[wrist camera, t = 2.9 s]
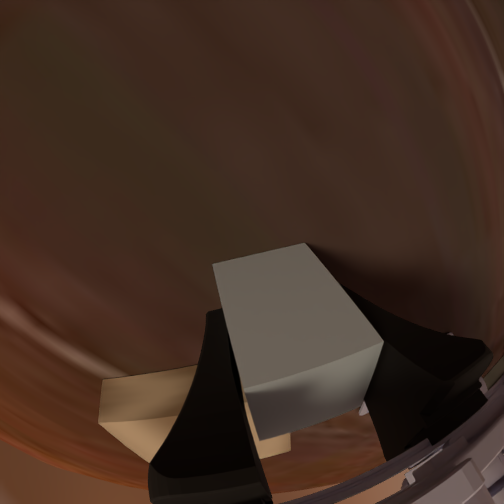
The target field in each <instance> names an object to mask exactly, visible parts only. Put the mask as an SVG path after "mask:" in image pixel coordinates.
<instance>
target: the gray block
mask: <svg viewBox="0 0 504 504" xmlns="http://www.w3.org/2000/svg"><path fill="white" fill-rule="evenodd" d="M212 265H213V269H214V274H215V278H216V283H217V287H218V291H219V295H220V300H221V304H222V308H223V312H224V316H225V320H226V324H227V328H228V332H229V336H230V340H231V344H232V348H233V352H234V356H235V359H236V363H237V367H238V371H239V374H240V378H241V382H242V385H243V389H244V392H245V396H246V399H247V403H248V406H249V409H250V412H251V416H252V419H253V422H254V425H255V429H256V432H257V435H258V438H259V441H262V440H266V439H270V438H273V437H277V436H280V435H284V434H287V433H290V432H294V431H297V430H300V429H303V428H306V427H309V426H312V425H315V424H318V423H320V422H323V421H326V420H328V419H331V418H334V417H336V416H339V415H341V414H344V413H346V412H349V411H351V410H353V409H356V408H358V407H360V406H361V404H362V401H363V399H364V396H365V394H366V391H367V389H368V386H369V384H370V381H371V378H372V375H373V373H374V370H375V367H376V364H377V361H378V358H379V355H380V352H381V349H382V346H383V343H384V341H383V339H382V338H381V337H380V335H379V334H378V333H377V332H376V330H375V329H374V328H373V326H372V325H371V324H370V322H369V321H368V320H367V319H366V317H365V316H364V315H363V313H362V312H361V311H360V310H359V308H358V307H357V306H356V305H355V303H354V302H353V301H352V300H351V298H350V297H349V296H348V295H347V293H346V292H345V291H344V290H343V288H342V287H341V286H340V285H339V283H338V282H337V281H336V280H335V278H334V277H333V276H332V275H331V274H330V272H329V271H328V270H327V269H326V268H325V266H324V265H323V264H322V263H321V262H320V260H319V259H318V258H317V257H316V256H315V254H314V253H313V252H312V251H311V250H310V248H309V247H308V246H307V245H306V244H305V243H302V244H297V245H293V246H289V247H284V248H280V249H276V250H271V251H267V252H263V253H258V254H254V255H250V256H245V257H241V258H237V259H232V260H228V261H223V262H219V263H215V264H212Z"/></svg>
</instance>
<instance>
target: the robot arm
mask: <svg viewBox="0 0 504 504" xmlns="http://www.w3.org/2000/svg"><path fill="white" fill-rule="evenodd" d="M339 285H340V286H341V287H342V288H343V290H344V291H345V292H346V293H347V295H348V296H349V297H350V298H351V300H352V301H353V302H354V303H355V305H356V306H357V307H358V308H359V310H360V311H361V312H362V313H363V315H364V316H365V317H366V319H367V320H368V321H369V322H370V324H371V325H372V326H373V328H374V329H375V330H376V332H377V333H378V334H379V335H380V337H381V338H382V339H383V341H384V343H383V346H382V349H381V352H380V355H379V358H378V361H377V364H376V367H375V370H374V373H373V375H372V378H371V381H370V384H369V386H368V389H367V391H366V394H365V396H364V399H363V400H364V401H363V403H362V406H361V408H360V410H359V414H360V415H364V414H367V413H369V414H370V416H371V419H372V421H373V424H374V426H375V429H376V432H377V435H378V438H379V441H380V444H381V447H382V450H383V453H384V457H385V459H386V461H387V462H385V463H384V464H382V465H380V466H378V467H376V468H374V469H372V470H370V471H368V472H365V473H363V474H361V475H359V476H357V477H354V478H352V479H350V480H347V481H345V482H343V483H340V484H338V485H335V486H333V487H330V488H327V489H325V490H322V491H319V492H317V493H313V494H311V495H307V496H304V497H301V498H298V499H294V500H291V501H287V502H284V503H280V504H334V503H337V502H339V501H342V500H344V499H347V498H349V497H352V496H354V495H356V494H358V493H361V492H363V491H365V490H367V489H369V488H371V487H373V486H375V485H377V484H379V483H381V482H383V481H385V480H387V479H389V478H391V477H393V476H394V475H396V474H398V473H400V472H401V471H403V470H405V469H407V468H408V469H411V468H413V467H415V466H416V467H415V468H413V469H412V470H410V471H409V472H407V473H405V477H406V478H405V479H404V481H403V483H402V487H401V490H400V491H398V492H396V493H395V494H393V495H391V496H389V497H387V498H385V499H383V500H381V501H379V502H377V503H375V504H504V455H503V453H504V374H503V375H502V378H501V379H500V380H499V381H498V382H497V383H496V384H495V385H493V386H492V387H491V388H490V389H489V390H488V389H487V386H486V383H485V381H484V380H483V378H482V377H481V376H482V374H483V373H484V371H485V370H486V369H487V367H488V366H489V364H490V362H491V361H492V359H493V353H492V351H491V350H490V349H489V348H488V347H487V346H486V345H485V344H484V343H483V341H482V340H478V339H471V338H463V337H458V336H453V334H452V332H450V333H448V334H444V333H441V332H437V331H434V330H431V329H428V328H424V327H422V326H419V325H416V324H414V323H411V322H409V321H406V320H404V319H402V318H400V317H397V316H395V315H393V314H391V313H389V312H387V311H385V310H384V309H382V308H380V307H378V306H376V305H374V304H373V303H371V302H369V301H368V300H366V299H364V298H363V297H361V296H359V295H358V294H356V293H354V292H353V291H351V290H350V289H348V288H346V287H345V286H343V285H342V284H340V283H339ZM418 464H419V465H418ZM417 465H418V466H417ZM148 489H149V496H150V502H151V503H153V504H273V501H272V495H271V492H270V489H269V486H268V483H267V480H266V477H265V474H264V471H263V468H262V465H261V462H260V458H259V455H258V452H257V449H256V445H255V442H254V439H253V435H252V432H251V429H250V425H249V422H248V418H247V414H246V410H245V404H244V398H243V392H242V386H241V380H240V374H239V371H238V367H237V363H236V359H235V356H234V352H233V348H232V344H231V340H230V336H229V332H228V328H227V324H226V320H225V316H224V312H223V308H221V309H217V310H213V311H208V312H207V314H206V326H205V334H204V340H203V345H202V349H201V354H200V358H199V362H198V365H197V369H196V372H195V375H194V378H193V381H192V384H191V387H190V390H189V392H188V395H187V397H186V400H185V402H184V404H183V406H182V409H181V411H180V413H179V415H178V417H177V419H176V421H175V423H174V425H173V426H172V428H171V430H170V432H169V434H168V435H167V437H166V439H165V441H164V442H163V444H162V445H161V447H160V448H159V450H158V451H157V453H156V454H155V456H154V457H153V459H152V460H151V461H150V464H149V471H148Z"/></svg>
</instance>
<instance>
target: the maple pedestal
mask: <svg viewBox="0 0 504 504" xmlns="http://www.w3.org/2000/svg"><path fill="white" fill-rule="evenodd" d="M196 369H197V365H194V366H189V367H184V368H178V369H173V370H167V371H161V372H155V373H149V374H142V375H135V376H128V377H120V378H112V379H103V382H102V390H101V399H100V408H99V420H98V423H99V424H100V425H101V426H102V427H104V428H105V429H106V430H107V431H108V432H109V433H111V434H112V435H113V436H114V437H116V438H117V439H118V440H119V441H120V442H122V443H123V444H124V445H126V446H127V447H128V448H129V449H131V450H132V451H133V452H135V453H136V454H137V455H139V456H140V457H142V458H143V459H144V460H146V461H147V462H149V463H150V461H151V460H152V459H153V457H154V456H155V454H156V453H157V451H158V450H159V448H160V447H161V445H162V444H163V442H164V441H165V439H166V437H167V435H168V434H169V432H170V430H171V428H172V426H173V425H174V423H175V421H176V419H177V417H178V415H179V413H180V411H181V409H182V406H183V404H184V402H185V400H186V397H187V395H188V392H189V390H190V387H191V384H192V381H193V378H194V375H195V372H196ZM240 380H241V378H240ZM241 386H242V392H243V398H244V404H245V410H246V414H247V418H248V422H249V425H250V429H251V432H252V435H253V439H254V442H255V445H256V449H257V452H258V455H259V458H260V459H262V458H266V457H270V456H273V455H277V454H280V453H284V452H287V451H291V448H290V433H287V434H284V435H280V436H277V437H273V438H270V439H266V440H262V441H259V438H258V435H257V432H256V429H255V425H254V422H253V419H252V416H251V412H250V409H249V406H248V403H247V399H246V396H245V392H244V389H243V385H242V382H241Z"/></svg>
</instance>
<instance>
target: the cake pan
mask: <svg viewBox="0 0 504 504" xmlns="http://www.w3.org/2000/svg"><path fill="white" fill-rule="evenodd" d="M503 374H504V356H503V357H502V358H501V359H500V360H499V361H498V363H497V364H496V365H495V366H494V367H493V368H492V369H491V370H490V372H489V373H488V374H487V375H486V376H485V377H484V379H483V380H484V381H485V383H486V386H487V389H488V390H489V389H490V388H491V387H492V386H493V385H495V384H496V383H497V382H498V381H499V380H500V379H501V378H502V375H503Z"/></svg>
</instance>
